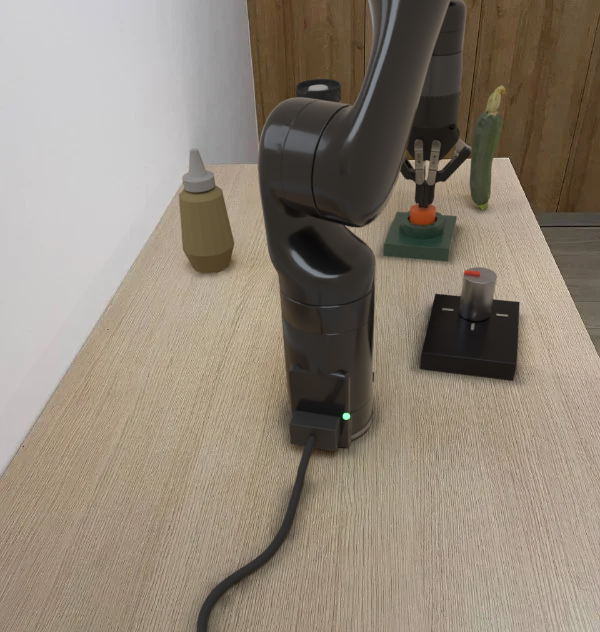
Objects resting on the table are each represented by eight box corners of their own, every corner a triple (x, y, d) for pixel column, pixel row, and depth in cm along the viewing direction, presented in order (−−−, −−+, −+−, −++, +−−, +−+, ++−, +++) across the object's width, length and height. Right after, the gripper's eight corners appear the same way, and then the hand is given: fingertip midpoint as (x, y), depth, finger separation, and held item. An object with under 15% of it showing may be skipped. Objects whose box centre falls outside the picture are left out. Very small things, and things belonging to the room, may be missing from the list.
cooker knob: (491, 306, 83) (498, 266, 80) (489, 323, 80) (496, 282, 77) (460, 303, 84) (465, 263, 81) (457, 319, 81) (462, 278, 78)
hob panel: (513, 381, 75) (517, 362, 74) (419, 369, 78) (421, 351, 76) (516, 317, 86) (520, 300, 84) (433, 308, 88) (435, 291, 87)
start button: (433, 227, 100) (434, 214, 98) (407, 225, 101) (408, 212, 99) (436, 216, 103) (437, 204, 101) (411, 214, 104) (412, 202, 102)
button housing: (447, 261, 98) (450, 237, 96) (383, 256, 101) (384, 232, 98) (455, 228, 107) (458, 205, 105) (396, 223, 109) (397, 201, 107)
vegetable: (463, 211, 112) (478, 88, 99) (466, 201, 115) (480, 81, 102) (489, 213, 111) (507, 89, 98) (491, 203, 114) (509, 81, 101)
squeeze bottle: (243, 271, 99) (229, 153, 88) (193, 282, 97) (172, 163, 86) (228, 249, 105) (213, 136, 94) (180, 260, 103) (159, 146, 92)
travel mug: (343, 193, 121) (342, 78, 108) (341, 210, 115) (340, 90, 102) (302, 193, 122) (297, 79, 109) (298, 210, 116) (292, 91, 103)
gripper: (381, 92, 88) (377, 212, 99) (480, 95, 85) (465, 219, 96) (390, 78, 93) (386, 193, 104) (483, 80, 90) (469, 199, 101)
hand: (424, 205), depth 100 cm, fingers closed
